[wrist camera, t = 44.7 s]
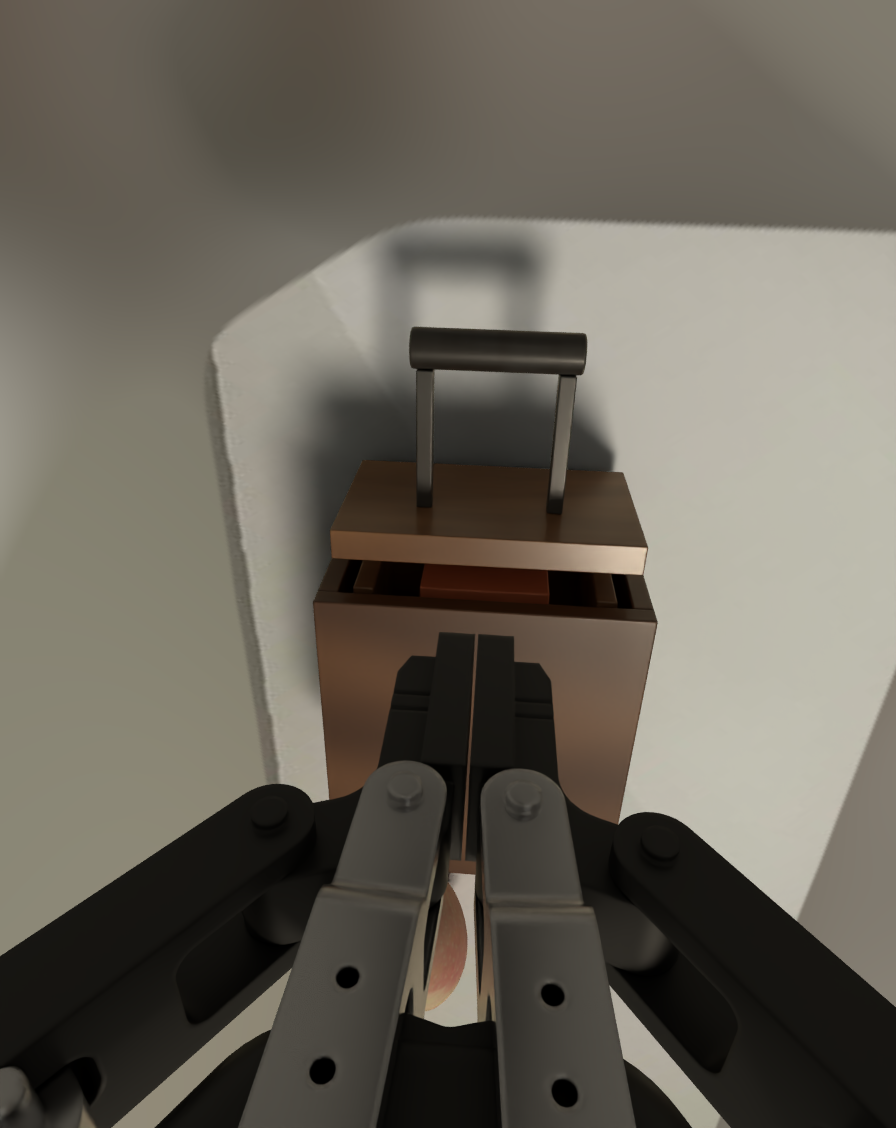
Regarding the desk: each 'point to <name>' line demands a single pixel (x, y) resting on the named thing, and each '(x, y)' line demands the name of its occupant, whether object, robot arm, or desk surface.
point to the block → (485, 583)
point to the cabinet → (541, 635)
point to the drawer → (491, 489)
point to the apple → (448, 951)
